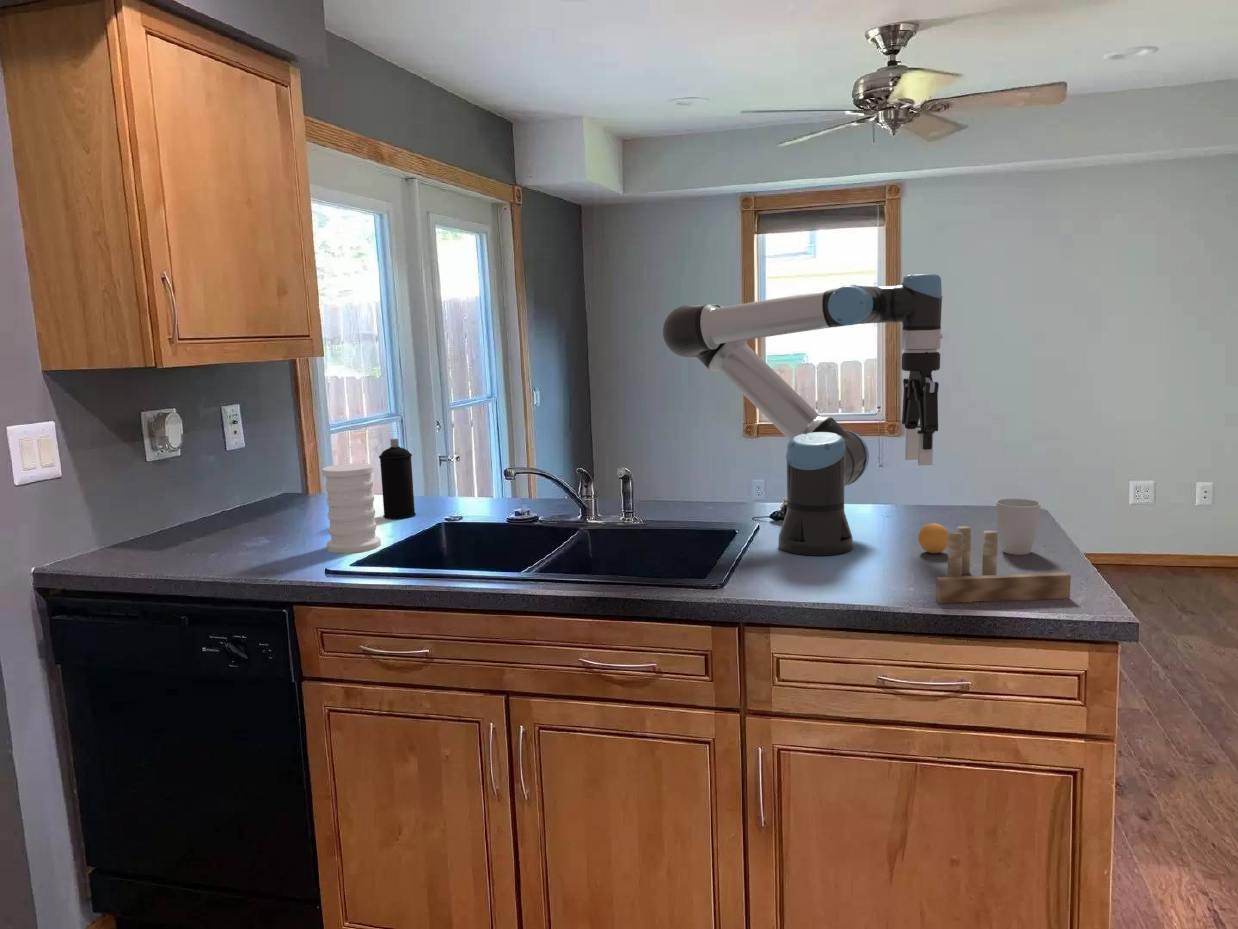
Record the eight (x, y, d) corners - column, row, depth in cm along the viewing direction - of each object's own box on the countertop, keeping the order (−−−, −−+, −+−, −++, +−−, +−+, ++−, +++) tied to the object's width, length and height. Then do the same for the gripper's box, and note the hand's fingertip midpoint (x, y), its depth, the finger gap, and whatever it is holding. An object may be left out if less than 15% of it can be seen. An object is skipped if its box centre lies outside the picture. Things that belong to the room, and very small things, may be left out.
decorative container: (369, 538, 211) (364, 461, 209) (388, 547, 202) (383, 467, 199) (319, 546, 205) (313, 467, 202) (337, 556, 195) (330, 473, 193)
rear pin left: (985, 580, 164) (987, 533, 163) (979, 576, 167) (981, 530, 165) (998, 579, 164) (1000, 533, 163) (992, 575, 167) (994, 530, 165)
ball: (924, 557, 181) (924, 527, 180) (913, 549, 187) (914, 521, 186) (954, 556, 181) (955, 526, 180) (942, 548, 187) (943, 519, 186)
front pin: (958, 574, 168) (960, 529, 167) (953, 571, 171) (955, 526, 169) (971, 574, 168) (973, 529, 167) (966, 570, 171) (967, 526, 169)
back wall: (939, 603, 152) (940, 580, 151) (935, 600, 154) (936, 577, 153) (1069, 598, 153) (1070, 575, 152) (1064, 595, 154) (1065, 572, 154)
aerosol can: (411, 519, 231) (406, 440, 227) (379, 520, 231) (373, 441, 228) (419, 512, 239) (414, 436, 236) (387, 513, 239) (382, 437, 236)
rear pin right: (950, 581, 164) (951, 535, 163) (945, 577, 167) (946, 532, 165) (963, 580, 164) (964, 534, 163) (958, 577, 167) (959, 531, 165)
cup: (1044, 550, 183) (1046, 501, 182) (1030, 558, 177) (1032, 508, 176) (1003, 544, 189) (1005, 497, 187) (988, 552, 183) (989, 503, 181)
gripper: (958, 352, 177) (955, 469, 181) (921, 349, 197) (919, 454, 200) (920, 353, 177) (917, 470, 181) (887, 350, 196) (885, 455, 200)
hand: (918, 461), depth 190 cm, fingers open, 7 cm apart
